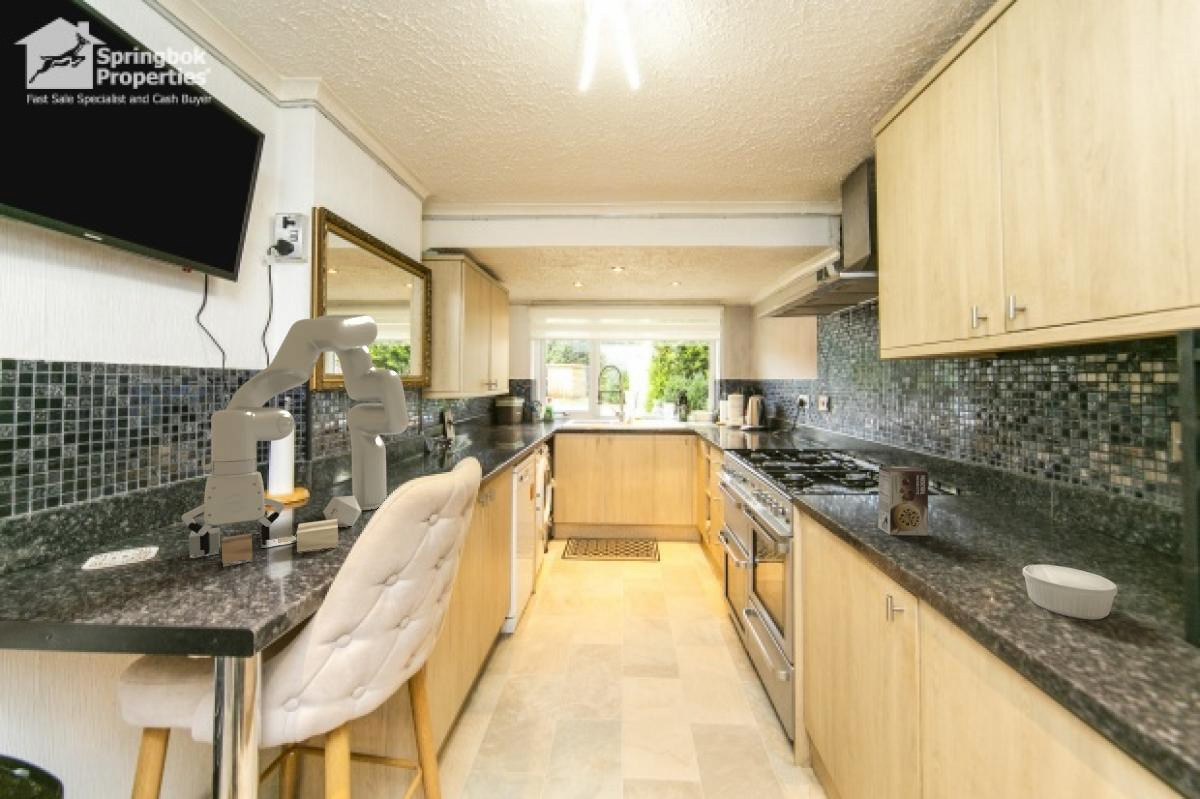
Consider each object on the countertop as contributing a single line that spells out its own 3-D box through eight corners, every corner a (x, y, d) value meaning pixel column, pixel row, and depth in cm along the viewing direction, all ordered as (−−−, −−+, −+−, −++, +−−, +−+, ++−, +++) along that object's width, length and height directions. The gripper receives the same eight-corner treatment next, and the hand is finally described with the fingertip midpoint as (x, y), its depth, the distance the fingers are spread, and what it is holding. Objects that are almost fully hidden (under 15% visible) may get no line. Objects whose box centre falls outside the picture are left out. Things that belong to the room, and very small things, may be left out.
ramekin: (1004, 593, 86) (1005, 564, 85) (1063, 591, 86) (1064, 562, 86) (1070, 625, 74) (1071, 591, 74) (1136, 622, 75) (1138, 589, 75)
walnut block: (223, 560, 103) (222, 537, 103) (252, 555, 106) (251, 533, 106) (222, 567, 99) (221, 544, 99) (252, 562, 102) (251, 539, 102)
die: (321, 528, 128) (313, 504, 122) (346, 505, 134) (340, 482, 129) (344, 541, 126) (338, 518, 120) (370, 518, 133) (364, 495, 127)
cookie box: (914, 528, 124) (915, 466, 123) (928, 536, 117) (930, 470, 117) (876, 527, 124) (877, 465, 124) (889, 535, 118) (890, 470, 117)
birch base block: (299, 544, 114) (298, 523, 113) (337, 539, 117) (337, 518, 117) (297, 555, 107) (296, 532, 106) (338, 548, 110) (337, 527, 110)
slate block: (191, 553, 108) (191, 531, 107) (220, 548, 110) (219, 527, 110) (189, 559, 103) (188, 537, 103) (219, 555, 106) (218, 532, 106)
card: (260, 542, 114) (260, 540, 114) (299, 536, 119) (299, 534, 119) (260, 549, 110) (260, 547, 110) (301, 542, 114) (301, 540, 114)
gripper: (178, 474, 94) (180, 562, 94) (284, 466, 104) (285, 545, 104) (183, 469, 100) (184, 551, 100) (282, 462, 110) (283, 536, 110)
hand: (236, 548), depth 102 cm, fingers open, 9 cm apart
